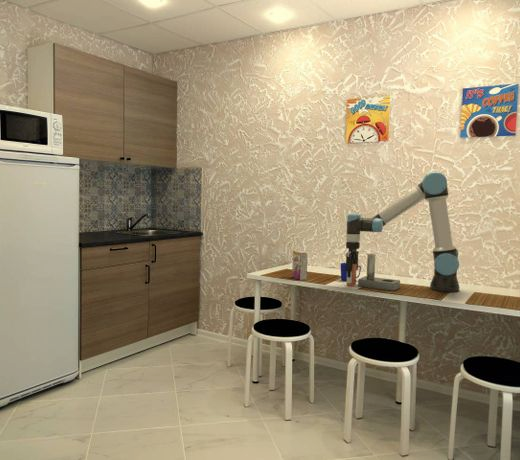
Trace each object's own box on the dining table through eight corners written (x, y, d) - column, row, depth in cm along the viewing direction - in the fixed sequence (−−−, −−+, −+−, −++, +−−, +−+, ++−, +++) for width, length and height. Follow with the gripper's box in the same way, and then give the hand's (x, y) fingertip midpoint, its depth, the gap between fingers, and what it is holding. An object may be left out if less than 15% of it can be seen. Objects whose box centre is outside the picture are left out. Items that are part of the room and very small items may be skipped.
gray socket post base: (399, 287, 258) (401, 255, 257) (393, 290, 248) (395, 257, 247) (365, 283, 269) (366, 252, 267) (357, 286, 258) (359, 254, 257)
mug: (360, 282, 270) (361, 265, 270) (339, 281, 273) (340, 264, 272) (360, 279, 278) (360, 263, 278) (340, 278, 281) (340, 262, 280)
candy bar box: (291, 277, 282) (292, 250, 281) (298, 276, 284) (299, 250, 283) (299, 280, 272) (300, 252, 270) (307, 280, 274) (308, 252, 272)
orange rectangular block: (355, 285, 261) (356, 264, 260) (353, 286, 258) (354, 265, 257) (349, 284, 263) (349, 263, 262) (346, 285, 260) (347, 264, 259)
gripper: (352, 239, 269) (351, 278, 270) (340, 242, 253) (338, 283, 254) (365, 240, 265) (363, 280, 266) (353, 243, 249) (351, 285, 250)
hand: (351, 281), depth 260 cm, fingers open, 6 cm apart
